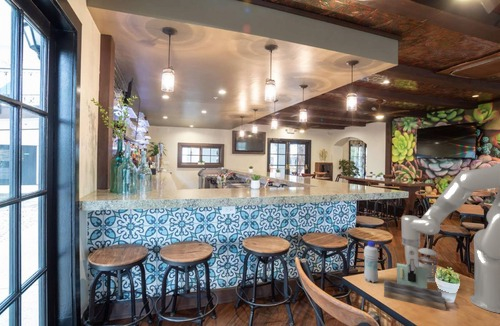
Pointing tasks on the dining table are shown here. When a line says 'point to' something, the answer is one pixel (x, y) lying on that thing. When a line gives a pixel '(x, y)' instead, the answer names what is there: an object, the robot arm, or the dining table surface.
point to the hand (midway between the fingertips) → (411, 279)
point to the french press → (428, 263)
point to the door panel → (420, 276)
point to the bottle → (371, 262)
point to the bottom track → (414, 295)
